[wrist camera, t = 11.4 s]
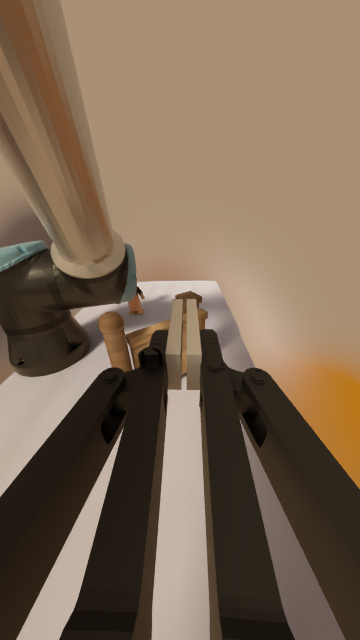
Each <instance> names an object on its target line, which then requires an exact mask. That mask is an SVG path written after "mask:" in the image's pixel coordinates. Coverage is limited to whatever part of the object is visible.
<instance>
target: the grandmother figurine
mask: <svg viewBox="0 0 360 640" xmlns="http://www.w3.org/2000/svg"><path fill="white" fill-rule="evenodd" d="M137 292H138V293H137ZM138 294H139V295H140V296H141V299H144V298H145V297H144V296H143V293H142V291H141V290H140V289H139V287H137V290H136V295H135V297H134V299H132V300H131V301H128V303H129V307H130V311H131V312H130V314H135V313H136V312H137V311H138V312H137V314H138V315H140V314H142V313H144V310H142V309H141V305H140V300H139V296H138Z"/></svg>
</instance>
